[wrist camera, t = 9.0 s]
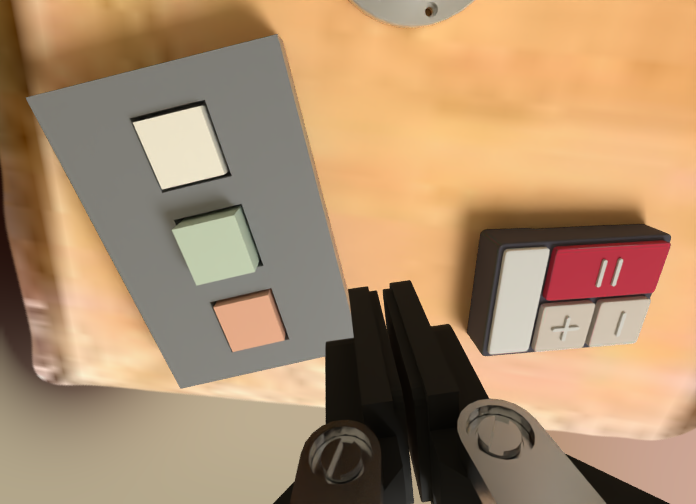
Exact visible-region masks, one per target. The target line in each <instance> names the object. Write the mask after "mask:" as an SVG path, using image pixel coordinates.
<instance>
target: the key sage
mask: <svg viewBox="0 0 696 504" xmlns="http://www.w3.org/2000/svg"><path fill="white" fill-rule="evenodd" d="M172 232H173V234H174V236H175V239H176V241H177V243H178V245H179V247H180V250H181V252H182V254H183V256H184V259H185V261H186V263H187V265H188V268H189V270H190V272H191V274H192V277H193V279H194V281H195V283H196V286H197V285H201V284H206V283H210V282H214V281H219V280H223V279H227V278H231V277H236V276H240V275H244V274H249V273H253V272H255V271H256V268H257V266H258V263H259V260H260V255H259V252H258V250H257V247H256V244H255V241H254V238H253V235H252V233H251V230H250V227H249V224H248V221H247V218H246V216H245V213H244V210H243V207H242V205H239V206H235V207H230V208H226V209H222V210H218V211H214V212H209V213H205V214H201V215H197V216H193V217H189V218H184V219H183V220H182V221H181V222H180V223H179V224H178V225H177V226H176V227H175V228H173V229H172Z"/></svg>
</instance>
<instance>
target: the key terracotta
mask: <svg viewBox="0 0 696 504" xmlns="http://www.w3.org/2000/svg"><path fill="white" fill-rule="evenodd" d="M213 308H214V310H215V312H216V315H217V317H218V319H219V322H220V324H221V326H222V329H223V331H224V333H225V335H226V338H227V340H228V342H229V345H230V347H231V349H232V351H233V352H235V351H240V350H244V349H249V348H253V347H257V346H262V345H266V344H271V343H275V342H280V341H284V340H285V333H286V328H285V325H284V322H283V320H282V317H281V314H280V311H279V308H278V305H277V303H276V300H275V297H274V294H273V291H272V288H270V289H266V290H261V291H257V292H253V293H248V294H244V295H240V296H235V297H231V298H227V299H222V300H218V301H216V303H215V305H214V307H213Z"/></svg>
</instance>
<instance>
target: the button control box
mask: <svg viewBox="0 0 696 504" xmlns="http://www.w3.org/2000/svg"><path fill="white" fill-rule="evenodd" d="M670 240H671V236H670V235H669V234H667V233H665V232H662V231H660V230H657V229H655V228H652V227H650V226H647V225H645V224H629V225H601V226H579V227H561V228H542V229H532V228H513V229H487V230H483V231H482V232H481V234H480V239H479V246H478V254H477V261H476V269H475V276H474V284H473V291H472V299H471V306H470V314H469V321H468V328H467V333H468V335H469V336H470V338H471V339H472V341H473V342H474V344H475V345H476V347H477V348H478V350H479V351H480V352H481V354H482V355H483V356H493V355H504V354H516V353H527V352H541V351H553V350H564V349H576V348H584V347H598V346H610V345H621V344H632V343H635V342H636V341H637V339H638V336H639V333H640V331H641V328H642V325H643V322H644V319H645V317H646V314H647V311H648V308H649V305H650V302H651V300H650V297H651V294H652V293H653V292H654V291H655V288H656V286H657V283H658V280H659V277H660V274H661V271H662V269H663V266H664V263H665V260H666V257H667V255H668V252H669V249H670V245H671V244H670Z"/></svg>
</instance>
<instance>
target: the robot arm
mask: <svg viewBox="0 0 696 504" xmlns="http://www.w3.org/2000/svg"><path fill="white" fill-rule="evenodd" d="M349 1H350V2H351V3H352V4H353V5H354V6H355V7H357V8H358V9H359V10H360V11H362V12H363V13H364V14H365V15H367V16H369V17H371V18H373V19H375V20H377V21H379V22H381V23H383V24H387V25H391V26H395V27H399V28H419V27H425V26H430V25H434V24H437V23H439V22H441V21H444V20H446V19H448V18H451V17H452V16H454V15H455V14H457V13H459V12H461V11H462V10H464V9H465V8H466V7H467V6H468V5H470V4H471V3H472V2H473V1H475V0H349ZM426 8H429V9H430V10H431V15H430V16H427V15H426V14H425V10H426ZM348 293H349V301H350V310H351V318H352V327H353V336H354V338H348V339H341V340H334V341H327V342H326V344H325V373H326V424H325V425H323V426H321V427H320V428H319V429H317V430H316V431H315V432H313V433H312V434H311V436H310V437H309V438H308V440H307V441H306V442H305V444H304V447H303V450H302V452H301V455H300V460H299V464H298V469H297V473H296V478H295V482H294V483H293V484H292V485H291V486H290V487H289V488H288V489H287V490H286V491H285V492H284V493H283V494H282V495H281V496H280V497H279V498H278V499H277V500H276V501H275V502H274V503H273V504H413V503H414V498H413V488H412V477H411V466H410V455H411V460H412V464H413V468H414V473H415V477H416V481H417V486H418V490H419V494H420V498H421V501H422V502H427V501H431V504H669V503H667V502H665V501H663V500H661V499H659V498H657V497H655V496H653V495H651V494H648V493H646V492H644V491H642V490H640V489H638V488H636V487H634V486H632V485H629V484H628V483H626V482H623V481H621V480H619V479H617V478H615V477H613V476H611V475H609V474H607V473H605V472H603V471H600V470H598V469H596V468H594V467H592V466H590V465H588V464H586V463H584V462H582V461H580V460H577V459H575V458H573V457H571V456H569V455H567V454H565V453H564V452H563V451H562V450H561V449H560V448H559V446H558V445H557V444H556V443H555V441H554V440H553V439H552V438H551V437H550V436H549V434H548V433H547V432H546V431H545V430H544V428H543V427H542V426H541V425H540V424H539V422H538V421H537V420H536V419H535V418H534V417H533V416H532V415H531V414H530V413H529V412H527V411H526V410H525V409H523V408H521V407H519V406H518V405H516V404H513V403H510V402H507V401H504V400H498V399H489V397H488V395H487V394H486V392H485V390H484V388H483V386H482V384H481V382H480V380H479V378H478V376H477V374H476V373H475V371H474V369H473V367H472V365H471V363H470V361H469V359H468V357H467V355H466V353H465V352H464V350H463V348H462V346H461V344H460V342H459V340H458V338H457V336H456V334H455V332H454V331H453V329H452V327H451V326H450V325H449V324H445V325H438V326H430V324H429V321H428V319H427V317H426V315H425V312H424V310H423V308H422V306H421V303H420V301H419V299H418V296H417V294H416V292H415V290H414V287H413V285H412V283H411V281H410V280H408V281H401V282H394V283H390V289H383V299H384V308H385V317H386V325H385V321H384V317H383V313H382V309H381V305H380V301H379V297H378V294H377V290H376V291H369V289H368V286H367V287H360V288H353V289H348ZM386 327H387V329H386ZM409 451H410V455H409Z"/></svg>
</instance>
